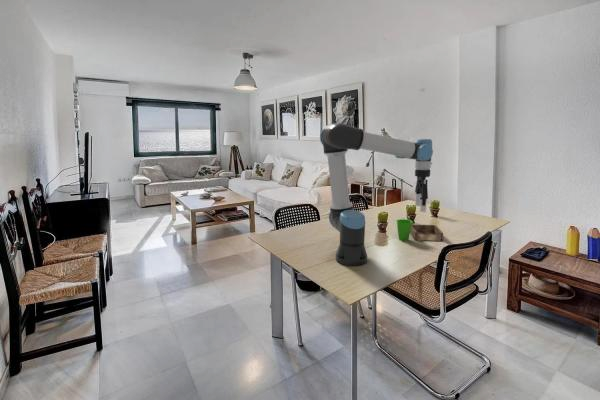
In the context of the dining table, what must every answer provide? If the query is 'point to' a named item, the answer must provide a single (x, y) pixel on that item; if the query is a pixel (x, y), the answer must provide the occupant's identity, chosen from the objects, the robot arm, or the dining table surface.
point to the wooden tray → (426, 233)
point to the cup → (404, 229)
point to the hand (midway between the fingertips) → (420, 208)
